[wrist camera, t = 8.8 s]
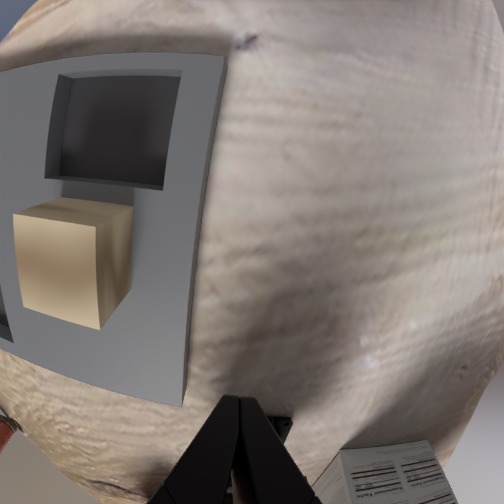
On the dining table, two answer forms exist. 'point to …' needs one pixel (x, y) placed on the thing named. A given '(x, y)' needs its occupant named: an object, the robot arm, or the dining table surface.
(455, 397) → the dining table surface
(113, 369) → the board
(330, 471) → the supplement box
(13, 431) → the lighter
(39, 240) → the maple block
